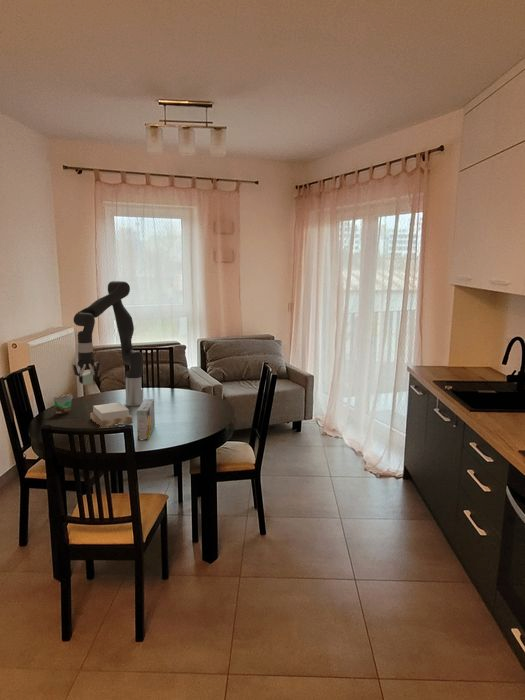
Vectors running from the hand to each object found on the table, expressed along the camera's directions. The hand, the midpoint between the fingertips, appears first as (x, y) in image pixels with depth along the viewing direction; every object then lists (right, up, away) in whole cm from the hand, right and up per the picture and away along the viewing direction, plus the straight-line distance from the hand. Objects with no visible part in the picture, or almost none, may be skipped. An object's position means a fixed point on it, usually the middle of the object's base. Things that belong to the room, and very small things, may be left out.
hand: (86, 382), depth 239 cm
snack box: (+35, -25, -14) cm, 45 cm away
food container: (-18, -18, +15) cm, 30 cm away
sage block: (0, -1, 0) cm, 1 cm away
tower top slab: (+12, -18, +3) cm, 22 cm away
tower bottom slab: (+12, -22, +3) cm, 25 cm away
